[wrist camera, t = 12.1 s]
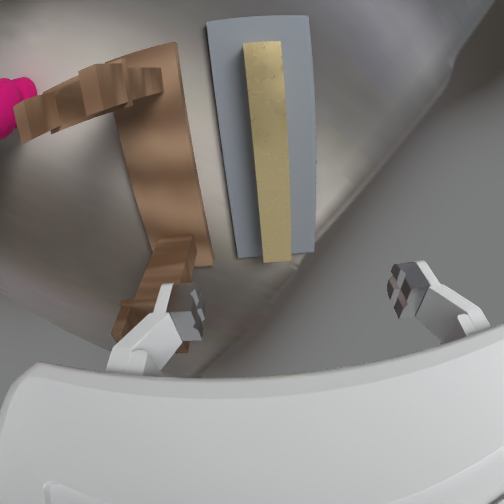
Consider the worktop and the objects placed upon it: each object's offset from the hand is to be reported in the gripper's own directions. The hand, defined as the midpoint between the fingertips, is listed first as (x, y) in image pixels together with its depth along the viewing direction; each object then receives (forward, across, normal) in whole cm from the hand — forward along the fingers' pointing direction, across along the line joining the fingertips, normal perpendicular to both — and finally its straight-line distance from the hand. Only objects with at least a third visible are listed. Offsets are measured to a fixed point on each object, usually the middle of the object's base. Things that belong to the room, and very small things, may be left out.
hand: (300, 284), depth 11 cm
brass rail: (+18, 0, 0) cm, 18 cm away
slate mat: (+19, 0, 0) cm, 19 cm away
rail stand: (+19, +11, 0) cm, 22 cm away
